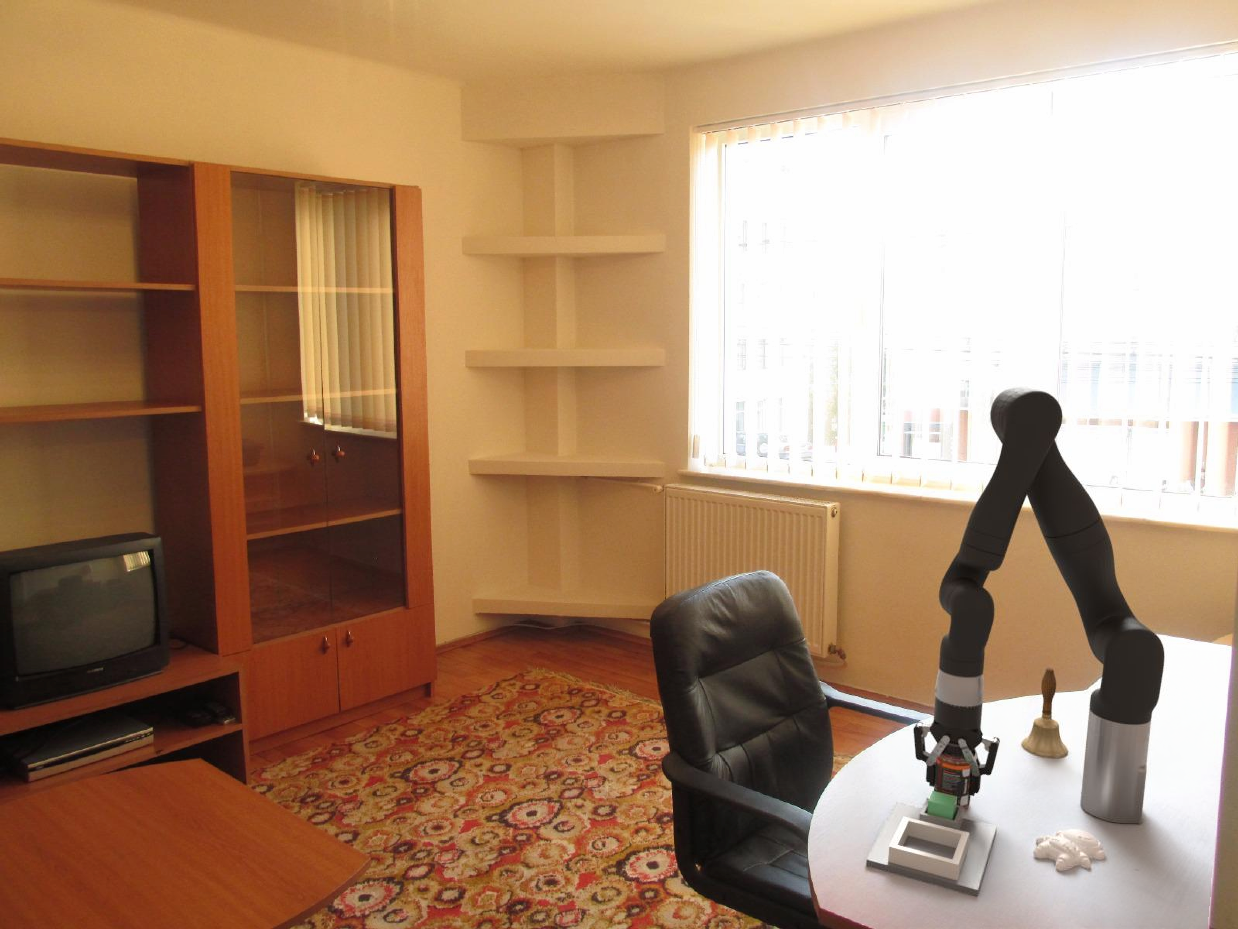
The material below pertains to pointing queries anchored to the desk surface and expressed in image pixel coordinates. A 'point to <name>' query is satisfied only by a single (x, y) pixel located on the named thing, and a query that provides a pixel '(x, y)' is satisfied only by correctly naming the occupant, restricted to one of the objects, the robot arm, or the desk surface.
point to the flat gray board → (934, 848)
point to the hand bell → (1046, 725)
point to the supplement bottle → (953, 774)
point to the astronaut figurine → (1069, 848)
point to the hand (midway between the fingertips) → (952, 789)
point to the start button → (942, 805)
